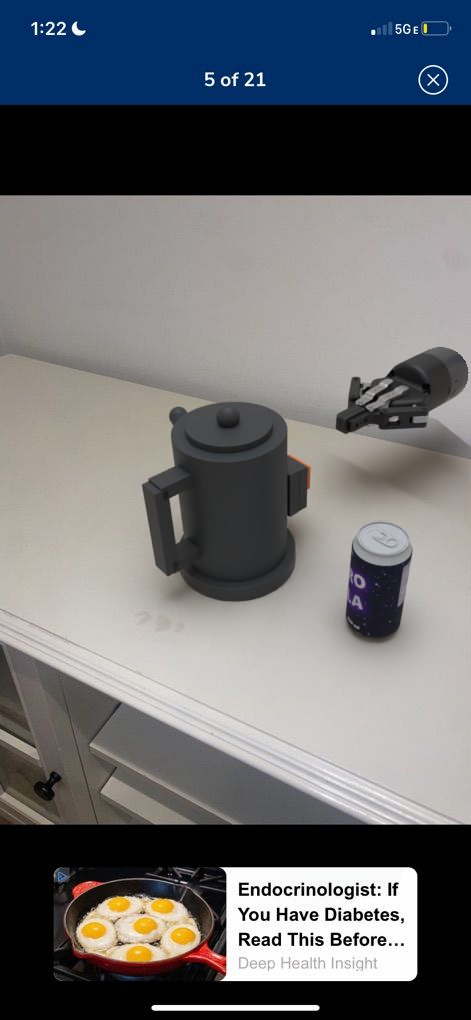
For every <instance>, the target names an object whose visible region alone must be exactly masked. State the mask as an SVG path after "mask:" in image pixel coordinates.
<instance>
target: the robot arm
mask: <svg viewBox="0 0 471 1020" xmlns="http://www.w3.org/2000/svg"><path fill="white" fill-rule="evenodd" d="M435 347H436V348H435ZM435 347H432V349H431V348H429V349H427V350H424V351H423V352H420V353H418V354H416V355H414V356H412V357H410V358H408V359H405V360H404V361H401V362H399V363H396V365H394V366H393V367H392V368H391V369H390V371H389V372H387V374H386V375H385V376H384V377H380V378H375V379H372V381H371V382H364V381H361V377H359V376H352V377H351V379H350V385H349V391H348V396H347V397H348V398H347V408H345V409H344V410H342V411H340V412H338V413H336V419H335V430H337V431H338V432H340V433H342V434H344V435H348V434H349V433H354V432H356V431H358V430H360V429H362V428H365V427H374V426H375V425H376V426H377V427H378V429H379V430H381V431H386V430H387V431H388V430H407V429H408V430H410V429H424V428H426V427H427V425H428V421H429V415H430V412H431V411H434V410H435V409H438V407H440V406H443V405H444V404H446V403H448V402H449V401H452V400H453V399H454V398H456V397H457V396H459V395H460V394H461V393H462V392H464V391H463V389H464V388H465V386H466V384H467V381H468V373H469V372H468V367H467V364H466V361H465V360H464V359H463V357H462V356H461V355H460V354H458V352H456V351H454V350H452V349H449V348H445V347H439V346H435ZM396 419H397V420H396Z"/></svg>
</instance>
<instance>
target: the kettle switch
mask: <svg viewBox="0 0 471 1020" xmlns="http://www.w3.org/2000/svg"><path fill="white" fill-rule="evenodd" d="M288 455H289V456H290V457H292V458H294V459H296V460H297V461H299V462H301V463H302V464H304V465H306V466H308V482H307V490H309V489H310V488H311V465H309V464H307V463H306V462H304V461H302V460H300V459H299V458H297V457H295V456H293V455H292V454H288Z"/></svg>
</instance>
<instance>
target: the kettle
mask: <svg viewBox="0 0 471 1020" xmlns="http://www.w3.org/2000/svg"><path fill="white" fill-rule="evenodd" d="M168 419H169V422H170V423H171V425H172V427H171V431H170V441H171V448H172V456H173V457H172V458H173V465H174V466H172V467H170V468H168V469H165V470H164V471H161V472H159V473H156V474H155V475H152V476H150V477H148V479H147V480H148V481H146V482H143V483H142V484H141V487H142V489H141V490H142V494H143V500H144V506H145V511H146V517H147V524H148V528H149V534H150V535H149V536H150V540H151V545H152V552H153V558H154V563H155V566H156V567H157V568H158V569H159V570H160V571H161V572H162V573H163V574H164V575H165V576H166V577H170V576H172V575H175V574H177V573H179V572H180V574H181V577H182V578H183V579H184V581H185V582H186V584H187V585H188V586H189V587H190V588H192V589H193V590H194V591H196V592H197V593H199V594H201V595H203V596H206V597H208V598H211V599H214V600H220V601H226V602H242V601H243V602H244V601H249V600H250V601H251V600H255V599H258V598H262V597H264V596H267V595H269V594H271V593H273V592H274V591H277V590H278V589H279V588H280V587H282V586H283V585H284V584H285V583H286V582H287V581H288V580H289V578H291V576H292V574H293V572H294V569H295V566H296V557H297V556H296V555H297V554H296V553H297V550H296V548H297V547H296V541H295V540H296V539H295V537H294V535H293V533H292V532H291V530H290V529H289V528H288V518H291V517H293V516H295V515H297V514H298V513H300V512H301V511H302V510H304V509H307V507H308V489H307V482H308V466H306V465H304V464H302V463H301V462H299V461H297V460H296V459H294V458H292V457H290V456H289V455H290V454H288V436H289V435H288V433H289V432H288V425H287V422H286V420H285V418H284V417H283V416H282V415H281V414H279V412H277V411H275V410H274V409H272V408H269V407H267V406H264V405H262V404H257V403H252V402H247V401H223V402H221V401H220V402H216V403H209V404H206V405H202V406H199V407H197V408H194V409H192V410H190V411H188V410H186V408H184V407H183V406H175V407H173V408H171V409H170V411H169V413H168ZM176 496H178V502H179V511H180V518H181V524H182V533H183V534H182V536H181V538H180V540H179V542H177V541H176V535H175V527H174V520H173V514H172V507H171V500H170V499H172V498H173V497H176Z"/></svg>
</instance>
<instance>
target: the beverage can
mask: <svg viewBox="0 0 471 1020" xmlns="http://www.w3.org/2000/svg"><path fill="white" fill-rule="evenodd" d="M413 549H414V548H413V546H412V543H411V538H410V535H409V533H408V531H407V530H406V529H405V528H404V527H403V526H400V525H399V524H397V523H395V522H391V521H387V520H375V521H370V522H367V523H365V524H363V525H362V526H360V527H359V529H358V530H357V532H356V535H355V536H354V538H353V539H352V541H351V551H350V561H349V572H348V583H347V584H348V585H347V595H346V596H347V598H346V608H345V620H346V622H347V624H348V625H349V627H350V628H351V629H352V630H353V631H355V632H356V633H358V634H359V635H361V636H364V637H366V638H370V639H378V638H379V639H380V638H386V637H389V636H391V635H393V634H394V633H396V632H397V631H398V629H399V628H400V626H401V622H402V617H403V610H404V604H405V598H406V594H407V593H406V592H407V587H408V582H409V576H410V569H411V563H412V558H413V552H414V551H413Z"/></svg>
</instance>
